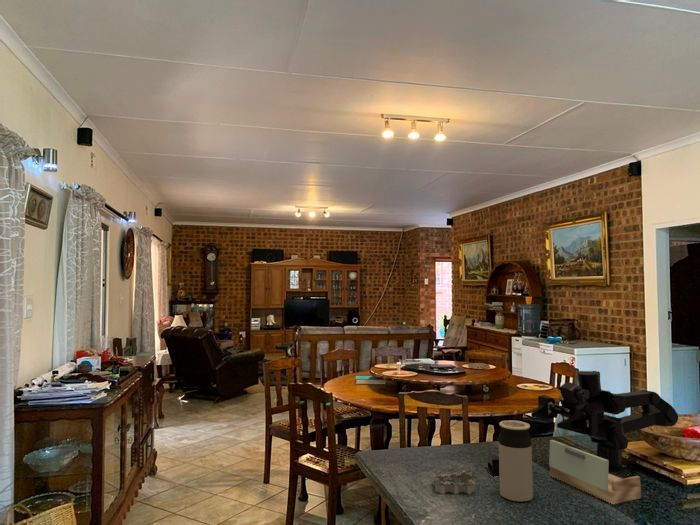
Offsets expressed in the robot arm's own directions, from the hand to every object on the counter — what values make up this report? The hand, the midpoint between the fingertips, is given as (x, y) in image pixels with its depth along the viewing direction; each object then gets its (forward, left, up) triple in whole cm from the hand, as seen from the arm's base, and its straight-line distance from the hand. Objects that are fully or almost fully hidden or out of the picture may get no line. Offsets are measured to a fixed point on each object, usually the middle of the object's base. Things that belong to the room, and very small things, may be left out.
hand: (544, 420), depth 135 cm
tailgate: (-3, +8, -13) cm, 16 cm away
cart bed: (-8, +8, -16) cm, 20 cm away
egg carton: (+27, -5, -17) cm, 32 cm away
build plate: (+9, -11, -17) cm, 22 cm away
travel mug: (+15, +5, -16) cm, 23 cm away
